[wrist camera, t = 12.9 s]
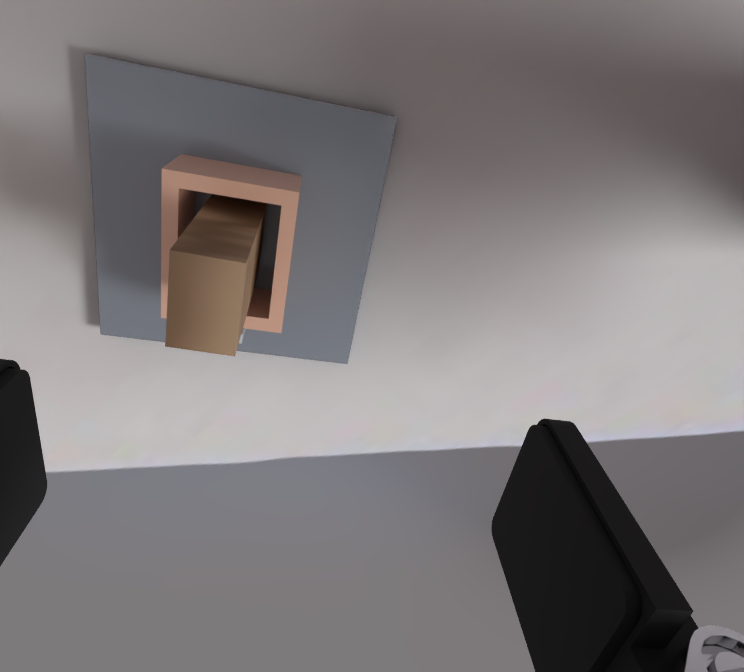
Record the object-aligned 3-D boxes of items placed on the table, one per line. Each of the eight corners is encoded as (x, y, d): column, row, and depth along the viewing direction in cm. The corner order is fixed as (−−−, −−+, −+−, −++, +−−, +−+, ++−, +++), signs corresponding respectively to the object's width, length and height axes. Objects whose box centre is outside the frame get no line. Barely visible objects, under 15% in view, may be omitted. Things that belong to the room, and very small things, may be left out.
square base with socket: (394, 116, 29) (409, 129, 24) (346, 356, 37) (350, 404, 32) (92, 54, 26) (39, 55, 22) (106, 327, 34) (69, 374, 29)
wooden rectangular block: (267, 201, 30) (246, 263, 21) (258, 272, 32) (235, 356, 23) (214, 190, 29) (169, 250, 21) (208, 264, 31) (165, 346, 23)
